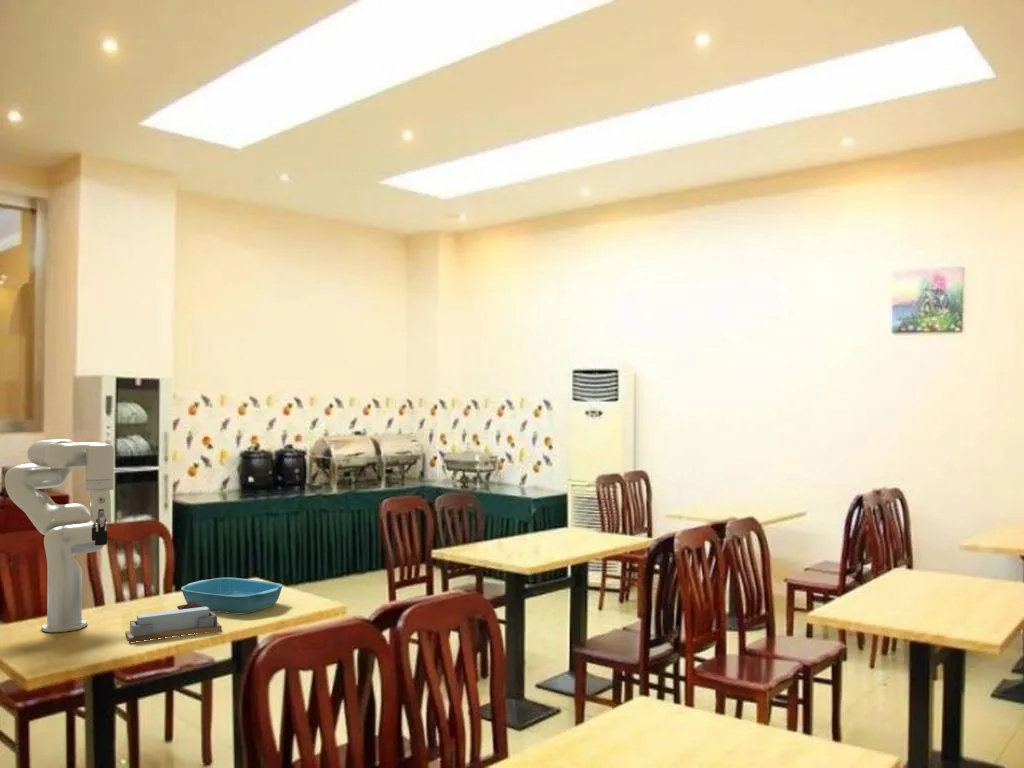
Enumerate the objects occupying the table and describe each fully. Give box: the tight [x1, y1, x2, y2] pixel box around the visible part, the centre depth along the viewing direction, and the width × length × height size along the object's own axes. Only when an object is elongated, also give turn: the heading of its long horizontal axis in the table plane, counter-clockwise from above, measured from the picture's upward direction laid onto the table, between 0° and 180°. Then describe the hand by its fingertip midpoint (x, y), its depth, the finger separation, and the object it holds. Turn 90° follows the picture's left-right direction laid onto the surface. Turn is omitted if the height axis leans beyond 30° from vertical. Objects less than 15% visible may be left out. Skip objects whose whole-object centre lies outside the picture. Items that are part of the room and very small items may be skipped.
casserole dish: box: [180, 577, 283, 614], centre depth 294 cm, size 37×22×7 cm, turn 62°
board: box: [124, 621, 223, 644], centre depth 259 cm, size 9×26×2 cm, turn 121°
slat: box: [136, 606, 210, 633], centre depth 259 cm, size 4×20×5 cm, turn 121°
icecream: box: [176, 601, 202, 610], centre depth 272 cm, size 7×7×15 cm
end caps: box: [129, 610, 218, 637], centre depth 259 cm, size 8×24×3 cm, turn 121°
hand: (99, 542), depth 255 cm, fingers open, 9 cm apart
